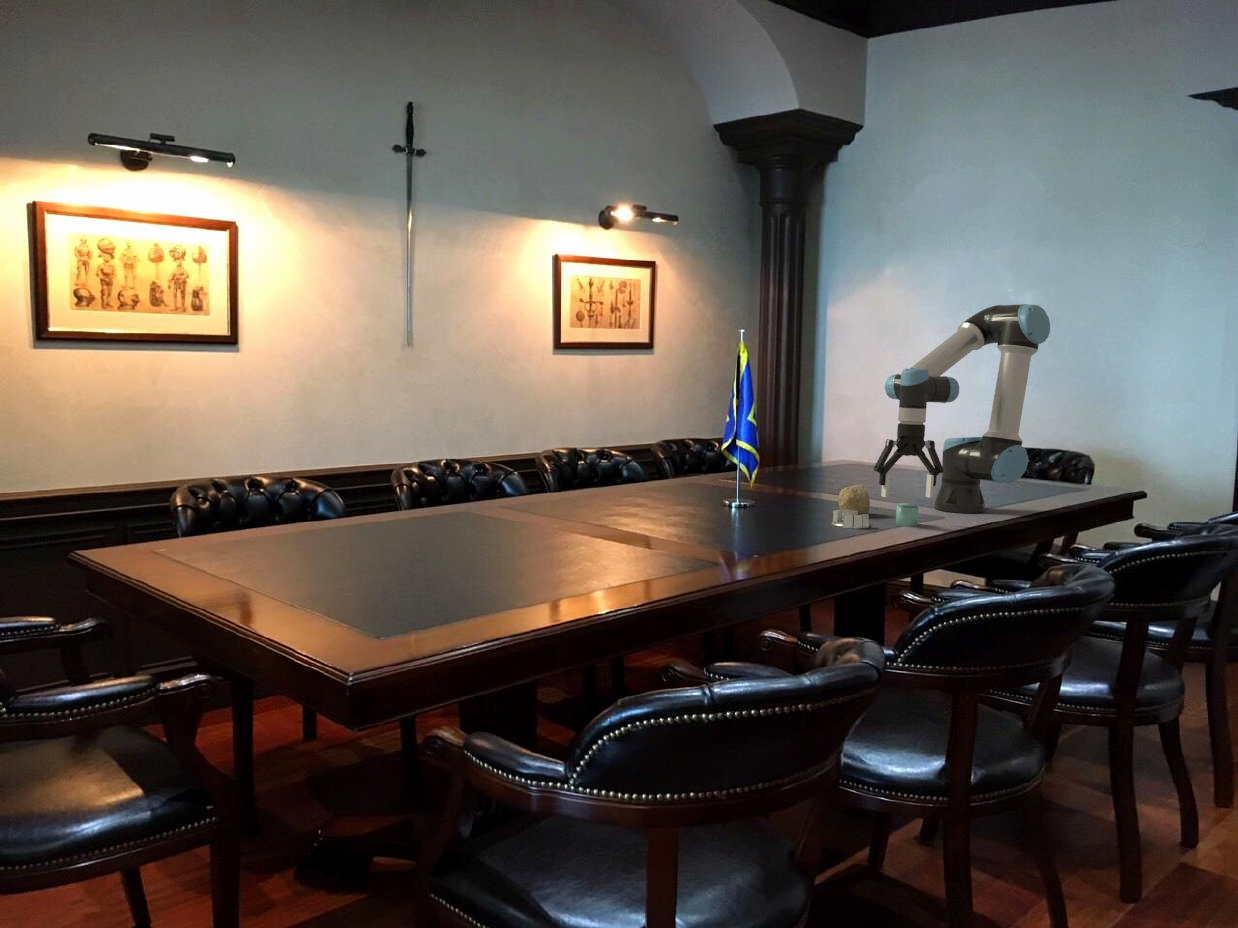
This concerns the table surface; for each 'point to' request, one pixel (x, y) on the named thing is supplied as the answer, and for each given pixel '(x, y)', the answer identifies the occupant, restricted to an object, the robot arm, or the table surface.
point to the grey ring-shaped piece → (850, 519)
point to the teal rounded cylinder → (907, 514)
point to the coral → (854, 499)
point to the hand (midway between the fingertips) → (906, 497)
